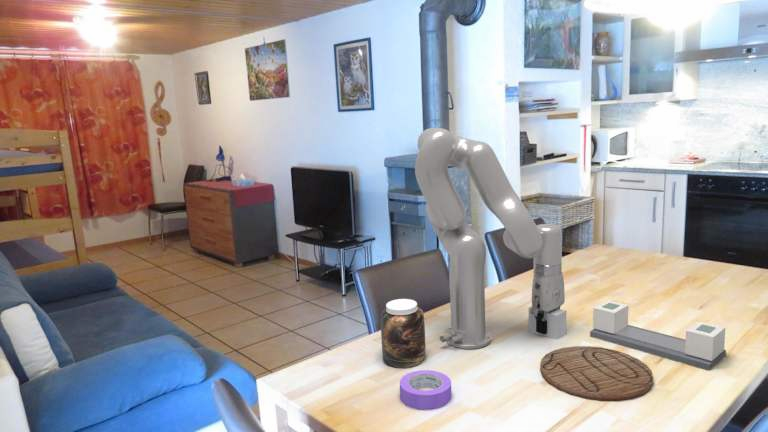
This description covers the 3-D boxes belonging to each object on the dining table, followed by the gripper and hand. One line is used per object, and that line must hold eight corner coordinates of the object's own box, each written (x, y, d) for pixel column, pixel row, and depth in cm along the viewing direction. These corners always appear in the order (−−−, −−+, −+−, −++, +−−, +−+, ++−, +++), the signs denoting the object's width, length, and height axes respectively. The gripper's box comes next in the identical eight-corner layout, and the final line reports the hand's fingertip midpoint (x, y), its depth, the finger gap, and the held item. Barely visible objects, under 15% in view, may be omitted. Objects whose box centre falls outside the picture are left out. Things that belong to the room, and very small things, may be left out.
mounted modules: (711, 361, 129) (713, 336, 128) (592, 328, 151) (593, 307, 150) (724, 350, 134) (725, 326, 133) (607, 320, 156) (607, 299, 155)
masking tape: (447, 383, 129) (447, 368, 129) (455, 408, 118) (455, 392, 117) (398, 386, 129) (397, 371, 128) (401, 412, 118) (401, 396, 117)
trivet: (582, 412, 114) (582, 404, 114) (520, 362, 138) (520, 355, 138) (678, 390, 121) (679, 382, 121) (604, 346, 145) (604, 339, 144)
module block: (556, 339, 150) (556, 315, 148) (528, 331, 156) (528, 307, 155) (566, 334, 153) (566, 310, 152) (538, 326, 160) (538, 303, 158)
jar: (376, 353, 147) (372, 301, 144) (415, 345, 151) (413, 294, 148) (391, 372, 136) (388, 315, 133) (433, 362, 140) (431, 307, 137)
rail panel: (709, 370, 128) (709, 363, 128) (590, 336, 151) (590, 329, 150) (725, 355, 135) (726, 348, 135) (609, 324, 158) (609, 318, 157)
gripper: (541, 278, 143) (541, 342, 146) (575, 264, 154) (575, 324, 157) (517, 272, 149) (518, 335, 152) (552, 259, 159) (552, 318, 163)
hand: (547, 329), depth 154 cm, fingers closed on module block, 5 cm apart
